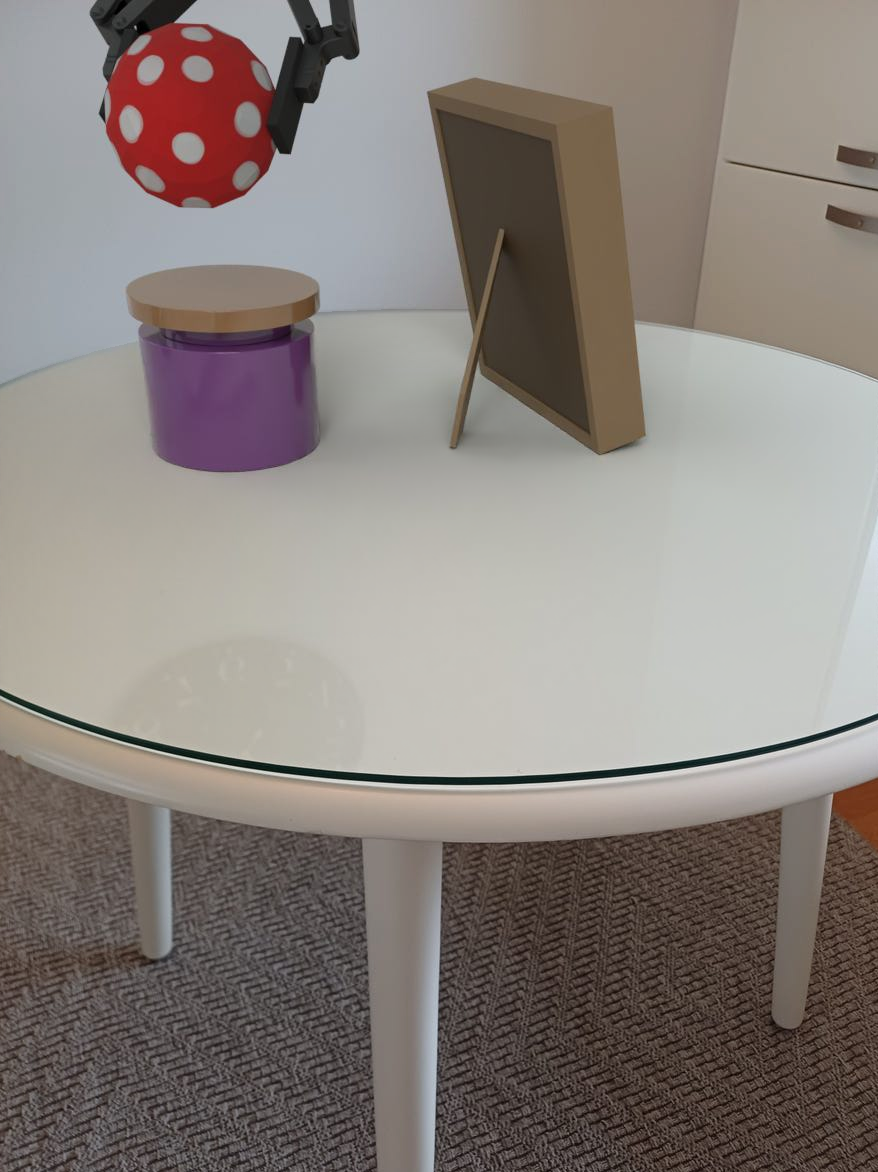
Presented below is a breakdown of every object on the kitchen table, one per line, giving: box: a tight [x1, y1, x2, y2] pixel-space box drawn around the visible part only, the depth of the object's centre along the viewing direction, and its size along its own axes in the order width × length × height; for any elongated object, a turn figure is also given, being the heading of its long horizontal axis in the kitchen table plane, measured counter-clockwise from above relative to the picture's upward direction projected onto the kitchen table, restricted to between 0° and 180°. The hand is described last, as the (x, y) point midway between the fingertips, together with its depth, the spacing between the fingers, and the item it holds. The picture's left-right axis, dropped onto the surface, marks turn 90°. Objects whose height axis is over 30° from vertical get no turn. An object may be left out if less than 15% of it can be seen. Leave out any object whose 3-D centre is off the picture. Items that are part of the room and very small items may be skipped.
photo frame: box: [426, 77, 647, 456], centre depth 89 cm, size 15×22×25 cm
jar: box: [125, 264, 321, 472], centre depth 86 cm, size 14×14×12 cm
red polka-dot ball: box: [103, 22, 278, 209], centre depth 74 cm, size 11×11×15 cm
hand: (194, 134), depth 72 cm, fingers closed on red polka-dot ball, 11 cm apart
